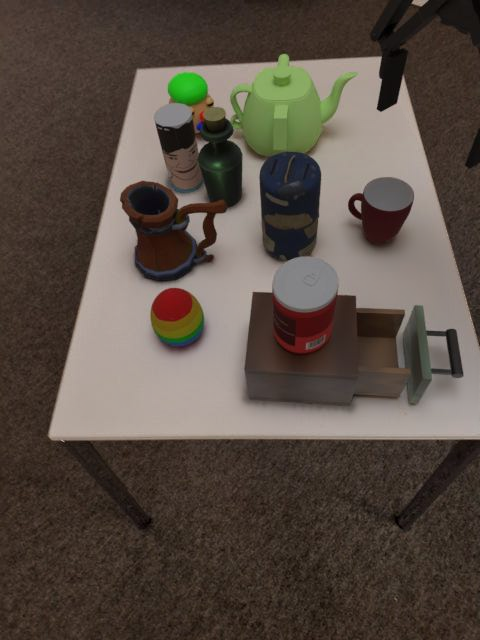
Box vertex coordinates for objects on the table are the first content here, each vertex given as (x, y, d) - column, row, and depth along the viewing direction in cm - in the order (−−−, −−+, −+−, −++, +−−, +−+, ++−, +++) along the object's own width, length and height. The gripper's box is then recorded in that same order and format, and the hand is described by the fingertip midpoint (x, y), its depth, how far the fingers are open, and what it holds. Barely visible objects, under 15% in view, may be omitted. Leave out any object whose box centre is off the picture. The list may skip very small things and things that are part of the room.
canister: (325, 235, 87) (334, 152, 72) (301, 272, 83) (305, 192, 68) (278, 218, 90) (277, 135, 75) (253, 253, 86) (246, 172, 71)
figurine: (165, 128, 108) (153, 76, 98) (200, 110, 110) (192, 58, 100) (192, 153, 102) (182, 100, 92) (229, 133, 105) (223, 81, 95)
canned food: (339, 316, 66) (348, 265, 57) (319, 364, 62) (325, 318, 53) (286, 299, 68) (287, 248, 59) (264, 345, 65) (261, 297, 55)
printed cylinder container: (166, 191, 96) (149, 125, 84) (174, 169, 100) (158, 102, 87) (199, 193, 95) (187, 126, 83) (206, 170, 99) (195, 103, 86)
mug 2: (335, 240, 86) (340, 198, 78) (352, 210, 90) (359, 167, 81) (392, 259, 83) (405, 217, 75) (408, 228, 86) (421, 184, 78)
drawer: (444, 335, 73) (460, 306, 67) (454, 406, 67) (473, 381, 61) (321, 330, 75) (325, 301, 69) (320, 397, 69) (324, 373, 63)
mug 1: (239, 238, 88) (231, 173, 76) (228, 289, 82) (218, 227, 70) (145, 231, 91) (123, 167, 78) (127, 280, 85) (100, 219, 72)
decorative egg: (206, 308, 80) (197, 270, 72) (207, 351, 76) (197, 316, 67) (158, 312, 81) (143, 275, 72) (155, 355, 76) (140, 321, 68)
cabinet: (348, 331, 76) (356, 295, 68) (350, 405, 69) (358, 376, 61) (255, 326, 78) (252, 291, 70) (248, 399, 71) (244, 369, 63)
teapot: (222, 136, 105) (214, 72, 92) (290, 97, 110) (291, 32, 98) (279, 179, 96) (279, 114, 84) (350, 134, 102) (359, 67, 90)
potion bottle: (223, 176, 98) (212, 93, 83) (254, 193, 94) (249, 109, 79) (196, 199, 95) (179, 117, 79) (227, 217, 91) (216, 135, 76)
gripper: (680, -69, 34) (542, 173, 51) (413, -142, 46) (376, 75, 63) (614, -34, 32) (495, 205, 49) (353, -120, 44) (333, 98, 61)
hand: (428, 132), depth 56 cm, fingers open, 13 cm apart
